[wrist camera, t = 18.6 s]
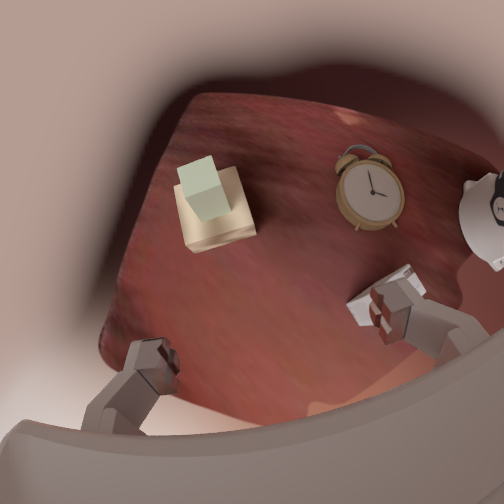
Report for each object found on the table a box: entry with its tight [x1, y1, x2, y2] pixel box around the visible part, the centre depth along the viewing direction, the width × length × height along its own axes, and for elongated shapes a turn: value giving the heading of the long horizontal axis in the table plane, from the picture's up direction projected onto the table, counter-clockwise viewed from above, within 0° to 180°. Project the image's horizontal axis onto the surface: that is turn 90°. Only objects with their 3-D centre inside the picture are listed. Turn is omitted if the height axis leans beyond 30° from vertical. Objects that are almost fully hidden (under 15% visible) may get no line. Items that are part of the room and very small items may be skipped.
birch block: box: [174, 166, 256, 254], centre depth 41 cm, size 10×10×5 cm
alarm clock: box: [335, 145, 405, 231], centre depth 41 cm, size 11×5×15 cm
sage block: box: [177, 156, 231, 223], centre depth 35 cm, size 4×4×8 cm
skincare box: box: [346, 264, 426, 326], centre depth 32 cm, size 6×4×12 cm
